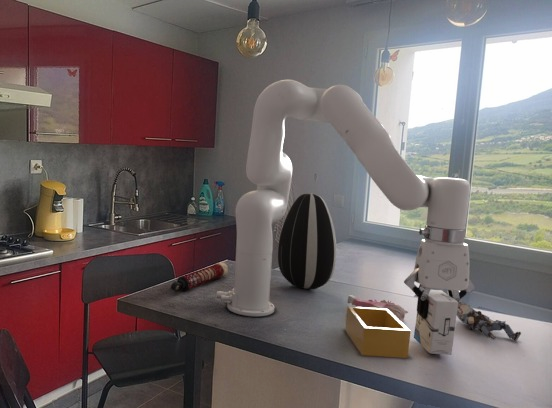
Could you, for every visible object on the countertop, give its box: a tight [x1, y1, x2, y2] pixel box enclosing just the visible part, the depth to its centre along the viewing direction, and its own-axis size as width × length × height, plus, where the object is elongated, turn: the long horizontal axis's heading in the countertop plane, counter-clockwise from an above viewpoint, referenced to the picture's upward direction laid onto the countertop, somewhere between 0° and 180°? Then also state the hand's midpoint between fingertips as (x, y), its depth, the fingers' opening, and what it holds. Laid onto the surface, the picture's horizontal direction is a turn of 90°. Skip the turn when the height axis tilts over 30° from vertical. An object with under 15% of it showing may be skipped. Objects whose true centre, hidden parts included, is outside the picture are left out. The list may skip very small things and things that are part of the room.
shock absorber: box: [170, 261, 229, 292], centre depth 142 cm, size 5×5×30 cm
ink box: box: [413, 289, 458, 356], centre depth 99 cm, size 9×5×12 cm, turn 178°
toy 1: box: [346, 294, 409, 323], centre depth 120 cm, size 8×6×15 cm
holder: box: [344, 306, 411, 359], centre depth 102 cm, size 10×14×6 cm
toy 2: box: [456, 299, 522, 342], centre depth 113 cm, size 7×11×15 cm
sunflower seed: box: [277, 192, 338, 290], centre depth 142 cm, size 19×10×30 cm, turn 58°
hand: (435, 316), depth 99 cm, fingers closed on ink box, 5 cm apart
